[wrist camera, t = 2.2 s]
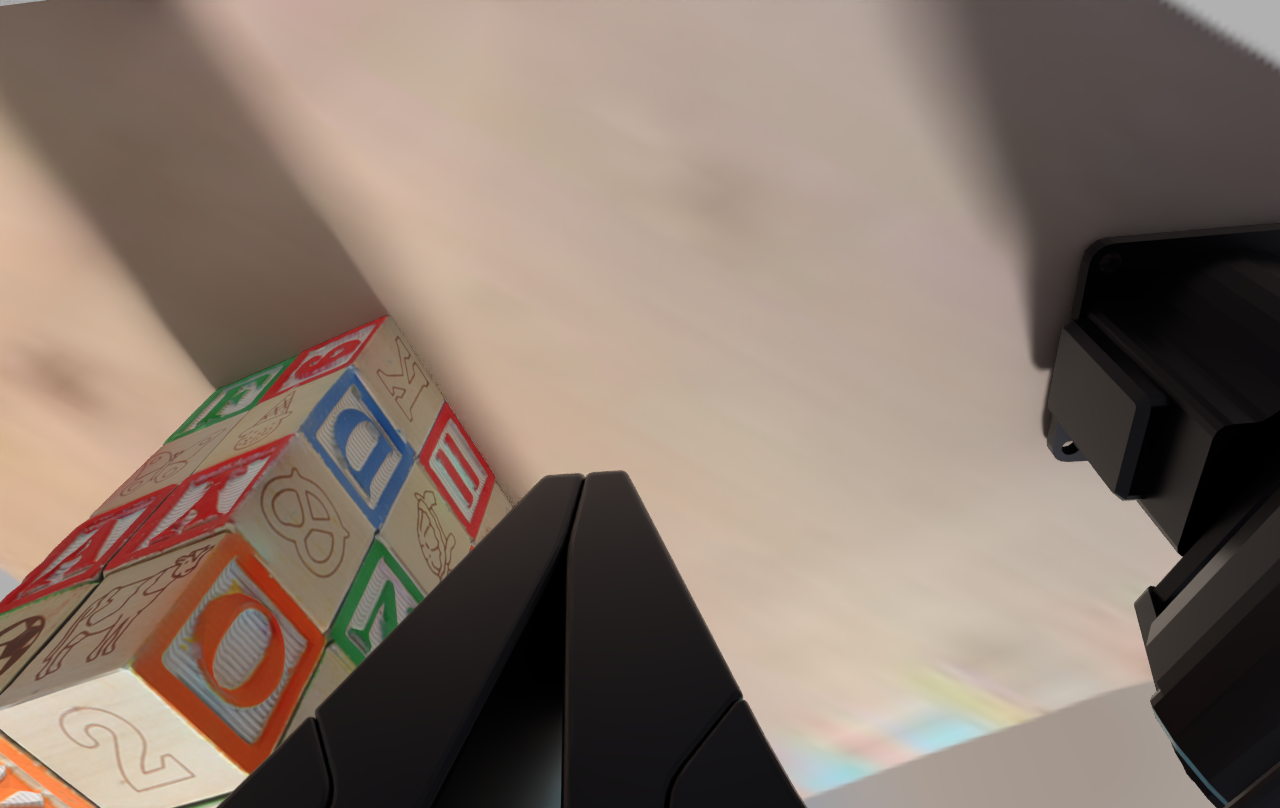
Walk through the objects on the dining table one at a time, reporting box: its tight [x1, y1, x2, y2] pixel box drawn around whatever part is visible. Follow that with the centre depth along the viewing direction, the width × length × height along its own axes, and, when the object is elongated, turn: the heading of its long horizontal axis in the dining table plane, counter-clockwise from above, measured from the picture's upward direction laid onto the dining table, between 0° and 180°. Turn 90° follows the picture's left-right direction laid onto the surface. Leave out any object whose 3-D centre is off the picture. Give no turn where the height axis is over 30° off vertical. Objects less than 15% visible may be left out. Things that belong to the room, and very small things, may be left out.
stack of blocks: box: [0, 315, 513, 808], centre depth 22 cm, size 21×6×12 cm, turn 24°
